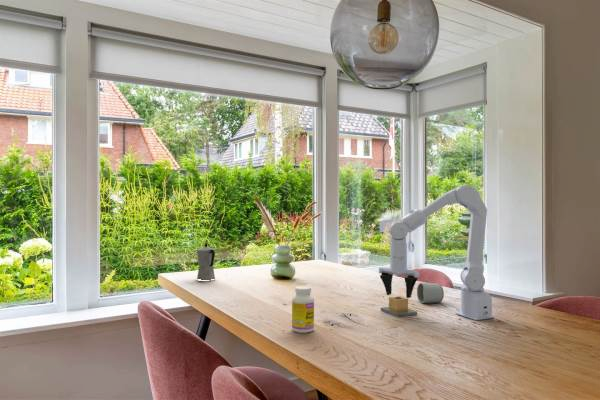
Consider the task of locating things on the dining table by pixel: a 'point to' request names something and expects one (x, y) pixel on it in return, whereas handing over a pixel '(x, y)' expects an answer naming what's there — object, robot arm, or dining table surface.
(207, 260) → the coffeepot
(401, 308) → the wooden block with hole
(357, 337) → the dining table surface
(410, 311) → the flat gray rectangular block
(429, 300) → the ceramic mug
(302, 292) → the supplement bottle
